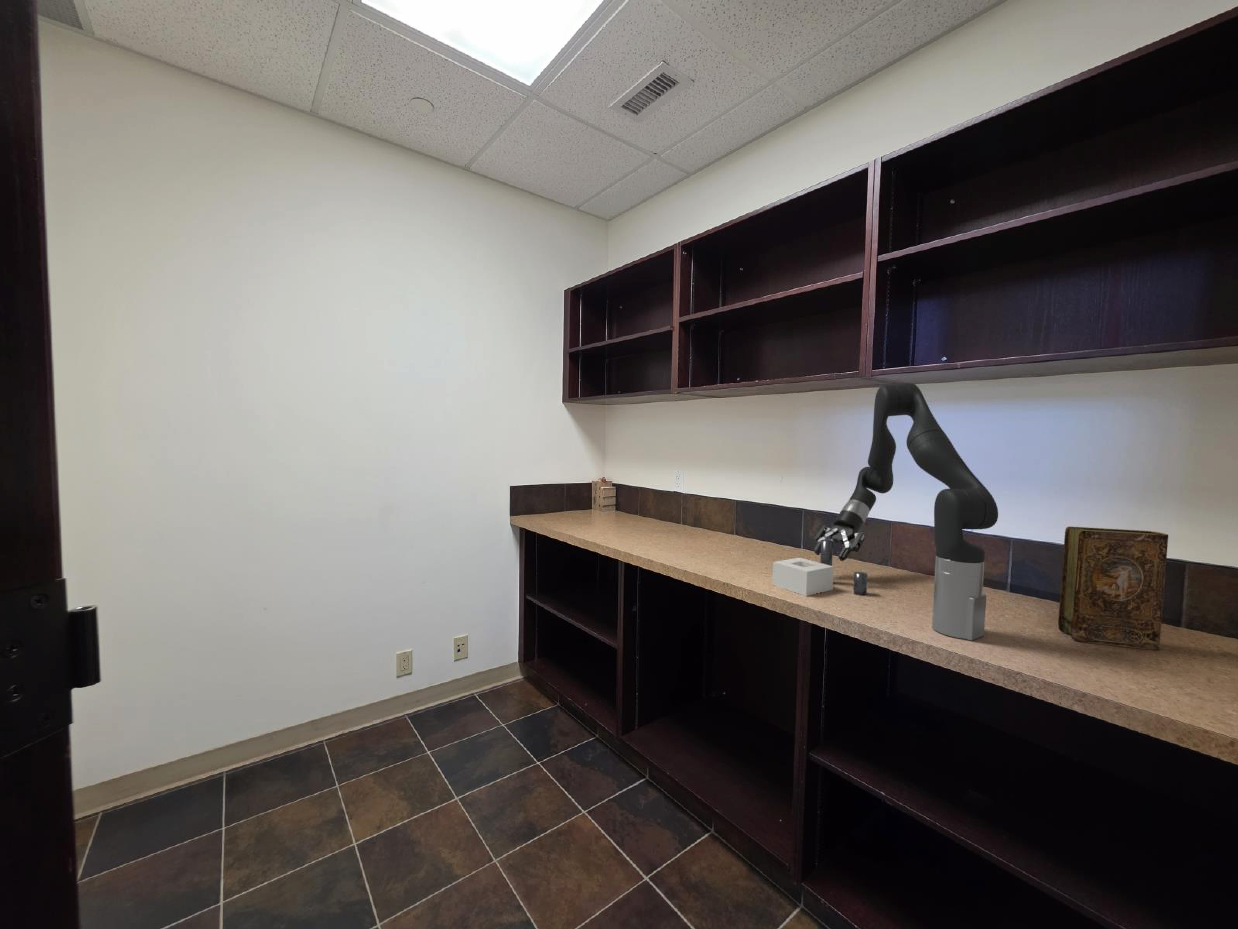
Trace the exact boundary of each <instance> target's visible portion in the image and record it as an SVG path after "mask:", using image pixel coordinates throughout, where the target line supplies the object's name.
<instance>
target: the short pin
mask: <svg viewBox="0 0 1238 929" xmlns="http://www.w3.org/2000/svg"><path fill="white" fill-rule="evenodd" d="M853 574H854V576H853V591H852V592H854V593H853V594H854V595H856V596H861V597H863V596H865V597H866V596H867V592H868V575H869V574H868V572H865V571H854V573H853Z"/></svg>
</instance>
